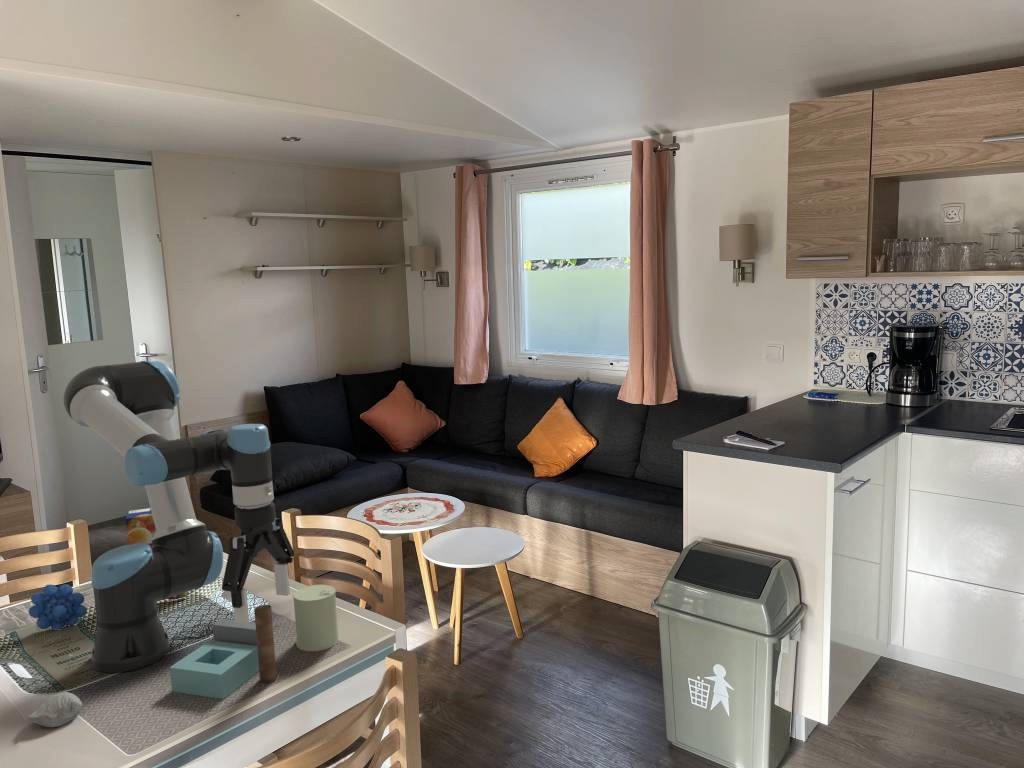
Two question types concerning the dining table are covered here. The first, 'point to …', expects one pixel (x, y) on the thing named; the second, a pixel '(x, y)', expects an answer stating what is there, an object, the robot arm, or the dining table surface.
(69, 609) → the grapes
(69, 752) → the dining table surface
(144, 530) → the juice carton
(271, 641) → the dowel
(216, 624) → the wall
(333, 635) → the can
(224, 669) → the block
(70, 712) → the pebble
